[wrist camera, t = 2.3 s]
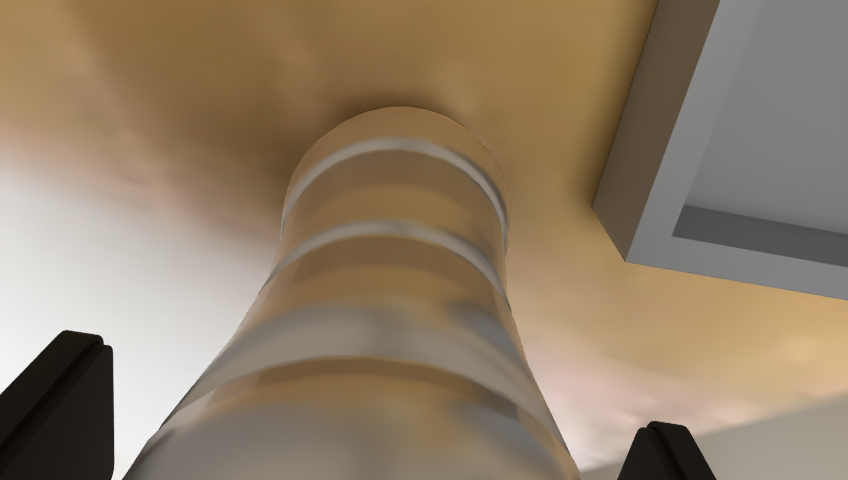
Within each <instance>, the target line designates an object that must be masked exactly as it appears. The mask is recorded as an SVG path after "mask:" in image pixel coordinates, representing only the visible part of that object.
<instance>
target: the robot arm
mask: <svg viewBox="0 0 848 480" xmlns="http://www.w3.org/2000/svg"><path fill="white" fill-rule="evenodd" d="M113 470H114V393H113V349H112V347H111V346H109V345H104V342H103V339H102V337H101V336H100V335H95V334H88V333H82V332H75V331H69V330H65V331H62V332H61V333H60V334H59V335H58V336H57V337H56V338H55V339H54V340H53V341H52V342H51V343H50V344H49V345H48V346H47V347H46V348H45V349H44V350H43V351H42V352H41V353H40V354H39V355H38V356H37V357H36V358H35V359H34V360H33V361H32V362H31V363H30V364H29V366H28V367H27V368H26V369H25V370H24V371H23V372H22V373H21V374H20V375H19V376H18V377H17V378H16V379H15V380H14V381H13V382H12V383H11V384H10V385H9V386H8V387H7V388H6V389H5V390H4V391H3V392H2V393H1V394H0V480H111V478H112V475H113ZM617 480H716V478H715V476H714V474H713V473H712V471H711V469H710V467H709V465H708V464H707V462H706V460H705V458H704V456H703V455H702V453H701V451H700V449H699V448H698V446H697V444H696V442H695V441H694V439H693V437H692V435H691V433H690V431H689V430H688V429H687V428H686V427H685V426H683V425H677V424H671V423H665V422H658V421H652V422H650V423H649V424H648V425H647V427H646V428H644V427H642V428H640V429H639V430H638V431H637V433H636V435H635V438H634V440H633V443H632V445H631V447H630V450H629V452H628V455H627V457H626V460H625V462H624V465H623V467H622V470H621V472H620V475H619V477H618V479H617Z"/></svg>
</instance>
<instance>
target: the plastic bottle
mask: <svg viewBox="0 0 848 480" xmlns="http://www.w3.org/2000/svg"><path fill="white" fill-rule="evenodd" d="M509 225H510V200H509V195H508V189H507V184H506V182H505V179H504V177H503V175H502V172H501V170H500V167H499V165H498V164H497V163H496V161H495V160H494V158H493V157H492V155H491V154H490V153H489V151H488V150H487V148H486V147H484V146H483V145H482V144H481V143H480V142H479V141H478V140H477V139H476V138H475V137H474V136H473V135H472V134H471V133H470V132H469V131H467V130H466V129H465V128H464V127H463V126H461V125H460V124H458V123H456V122H455V121H453V120H451V119H450V118H448V117H446V116H444V115H441V114H438V113H435V112H433V111H430V110H427V109H420V108H414V107H408V106H404V107H384V108H380V109H376V110H371V111H367V112H364V113H362V114H360V115H357V116H355V117H353V118H350V119H348V120H346V121H345V122H343V123H341V124H340V125H338V126H337V127H335V128H334V129H332V130H331V131H329V132H328V133H326V134H325V135H324V136H322V137H321V138H319V139H318V140H317V141H316V142H315V144H314V145H313V146H312V147H311V148H310V149H309V150H308V151H307V152H306V153H305V154H304V156H303V157H302V159H301V160H300V162H299V164H298V165H297V167H296V169H295V170H294V172H293V174H292V177H291V180H290V183H289V186H288V189H287V192H286V197H285V202H284V206H283V211H282V221H281V230H280V243H279V246H278V249H277V253H276V256H275V259H274V263H273V266H272V269H271V273H270V276H269V277H268V279H267V281H266V282H265V284H264V286H263V287H262V289H261V291H260V292H259V294H258V296H257V298H256V300H255V301H254V303H253V304H252V306H251V307H250V309H249V311H248V312H247V314H246V316H245V317H244V319H243V321H242V323H241V324H240V326H239V328H238V329H237V331H236V333H235V334H234V335H233V337H232V338H231V339H230V340H229V342H228V343H227V344H226V345H225V347H224V348H223V349H222V350H221V352H220V353H219V354H218V355H217V357H216V358H215V359H214V360H213V361H212V363H211V364H210V365H209V366H208V368H207V369H206V370H205V371H204V373H203V374H202V375H201V376H200V378H199V379H198V380H197V381H196V383H195V384H194V385H193V386H192V387H191V389H190V390H189V391H188V392H187V394H186V395H185V396H184V397H183V399H182V400H181V401H180V402H179V404H178V405H177V406H176V407H175V408H174V410H173V411H172V412H171V413H170V415H169V416H168V417H167V418H166V420H165V421H164V422H163V423H162V425H161V427H160V428H159V430H158V431H157V432H156V433H155V434H154V435H153V436H152V437H151V438H150V439H149V440H148V441H147V443H146V444H145V446H144V447H143V449H142V450H141V452H140V454H139V455H138V457H137V458H136V460H135V461H134V463H133V464H132V466H131V467H130V469H129V470H128V472H127V473H126V475H125V476H124V477H123V479H122V480H583V479H582V477H581V475H580V472H579V470H578V468H577V466H576V463H575V461H574V460H573V458H572V457H571V455H570V452H569V450H568V448H567V446H566V444H565V442H564V439H563V437H562V435H561V433H560V431H559V429H558V427H557V425H556V423H555V421H554V418H553V416H552V414H551V412H550V410H549V408H548V406H547V404H546V402H545V400H544V398H543V395H542V393H541V391H540V389H539V387H538V385H537V383H536V381H535V379H534V377H533V374H532V372H531V370H530V368H529V366H528V363H527V360H526V357H525V354H524V350H523V347H522V344H521V340H520V337H519V334H518V331H517V327H516V324H515V321H514V319H513V317H512V313H511V308H510V305H509V302H508V298H507V292H506V271H505V256H506V252H507V248H508V244H509Z"/></svg>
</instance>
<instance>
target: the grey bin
mask: <svg viewBox="0 0 848 480" xmlns="http://www.w3.org/2000/svg"><path fill="white" fill-rule="evenodd" d="M592 209H593V211H594V212H595V214H596V216H597V217H598V219H599V220H600V222H601V224H602V225H603V227H604V228H605V230H606V232H607V233H608V235H609V237H610V238H611V240H612V241H613V243H614V245H615V246H616V248H617V250H618V251H619V253H620V254H621V256H622V258H623V259H624V261H625V262H629V263H635V264H640V265H646V266H652V267H658V268H663V269H669V270H675V271H681V272H687V273H692V274H698V275H704V276H710V277H715V278H721V279H727V280H733V281H739V282H744V283H750V284H756V285H762V286H767V287H773V288H779V289H785V290H791V291H796V292H802V293H808V294H814V295H819V296H825V297H831V298H837V299H843V300H848V0H659V2H658V5H657V8H656V12H655V15H654V18H653V21H652V24H651V27H650V30H649V33H648V36H647V39H646V42H645V45H644V48H643V51H642V54H641V58H640V61H639V64H638V67H637V70H636V73H635V76H634V79H633V82H632V85H631V88H630V91H629V94H628V97H627V100H626V104H625V107H624V110H623V113H622V116H621V119H620V122H619V125H618V128H617V131H616V134H615V137H614V140H613V143H612V146H611V150H610V153H609V156H608V159H607V162H606V165H605V168H604V171H603V174H602V177H601V180H600V183H599V186H598V189H597V192H596V196H595V199H594V202H593V205H592Z"/></svg>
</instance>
